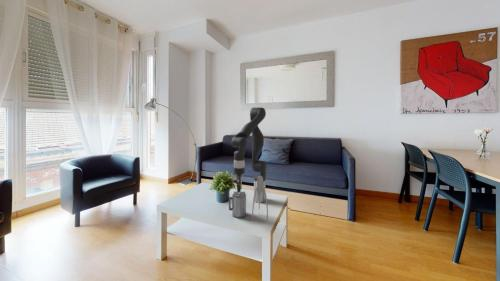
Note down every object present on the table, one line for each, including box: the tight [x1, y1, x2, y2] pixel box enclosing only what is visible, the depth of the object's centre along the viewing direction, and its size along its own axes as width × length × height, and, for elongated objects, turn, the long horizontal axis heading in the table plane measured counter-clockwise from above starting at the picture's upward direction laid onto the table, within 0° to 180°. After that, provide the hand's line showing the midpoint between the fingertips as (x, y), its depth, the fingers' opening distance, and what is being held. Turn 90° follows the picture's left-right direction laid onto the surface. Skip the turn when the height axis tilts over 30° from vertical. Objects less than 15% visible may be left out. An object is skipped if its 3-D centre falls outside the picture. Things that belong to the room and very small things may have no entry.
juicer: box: [251, 176, 269, 222], centre depth 137 cm, size 10×9×30 cm
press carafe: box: [228, 191, 247, 219], centre depth 142 cm, size 9×12×15 cm
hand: (239, 190), depth 140 cm, fingers closed on plunger, 3 cm apart
